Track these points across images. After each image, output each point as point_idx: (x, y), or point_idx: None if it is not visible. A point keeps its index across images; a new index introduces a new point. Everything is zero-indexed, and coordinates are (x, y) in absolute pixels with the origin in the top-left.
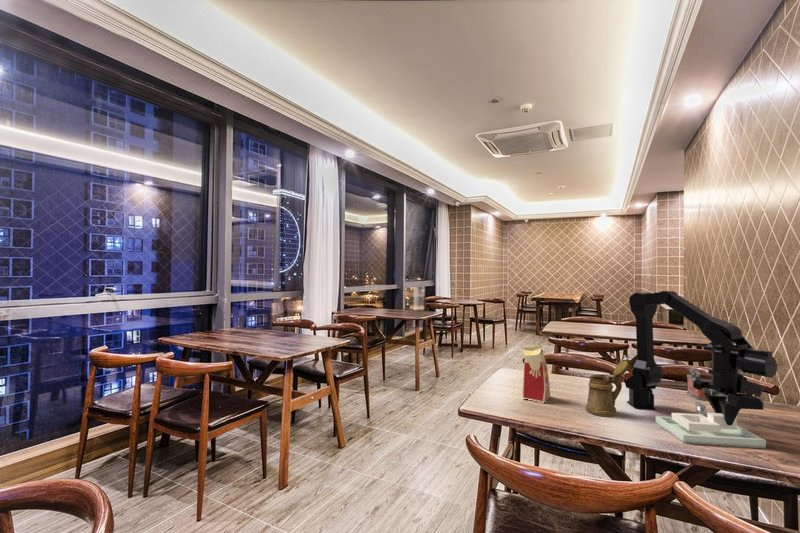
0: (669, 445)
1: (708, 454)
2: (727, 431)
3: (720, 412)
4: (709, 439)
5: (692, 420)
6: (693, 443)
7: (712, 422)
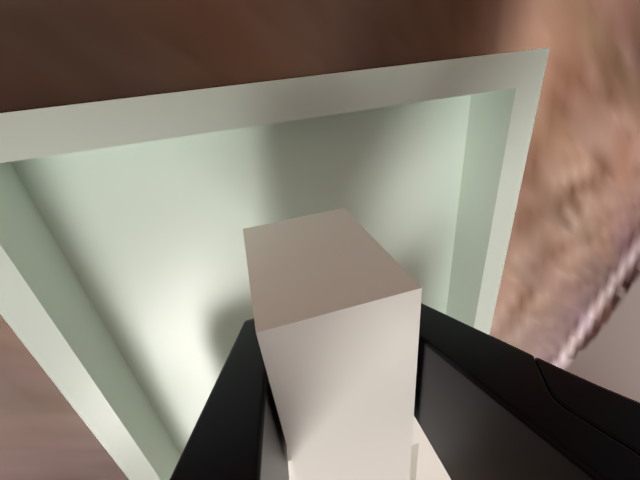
0: None
1: None
2: (216, 216)
3: (281, 453)
4: None
5: None
6: None
7: (413, 434)
